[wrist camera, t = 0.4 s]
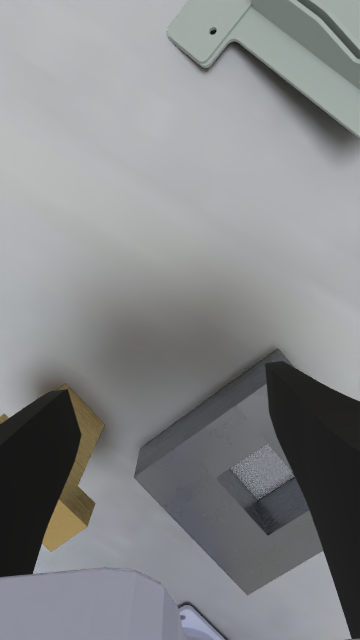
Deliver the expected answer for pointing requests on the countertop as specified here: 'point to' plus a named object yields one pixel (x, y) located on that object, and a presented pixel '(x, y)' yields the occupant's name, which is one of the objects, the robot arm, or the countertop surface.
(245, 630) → the countertop surface
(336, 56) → the metal bracket
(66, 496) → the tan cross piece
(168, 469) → the metal plate with slot
